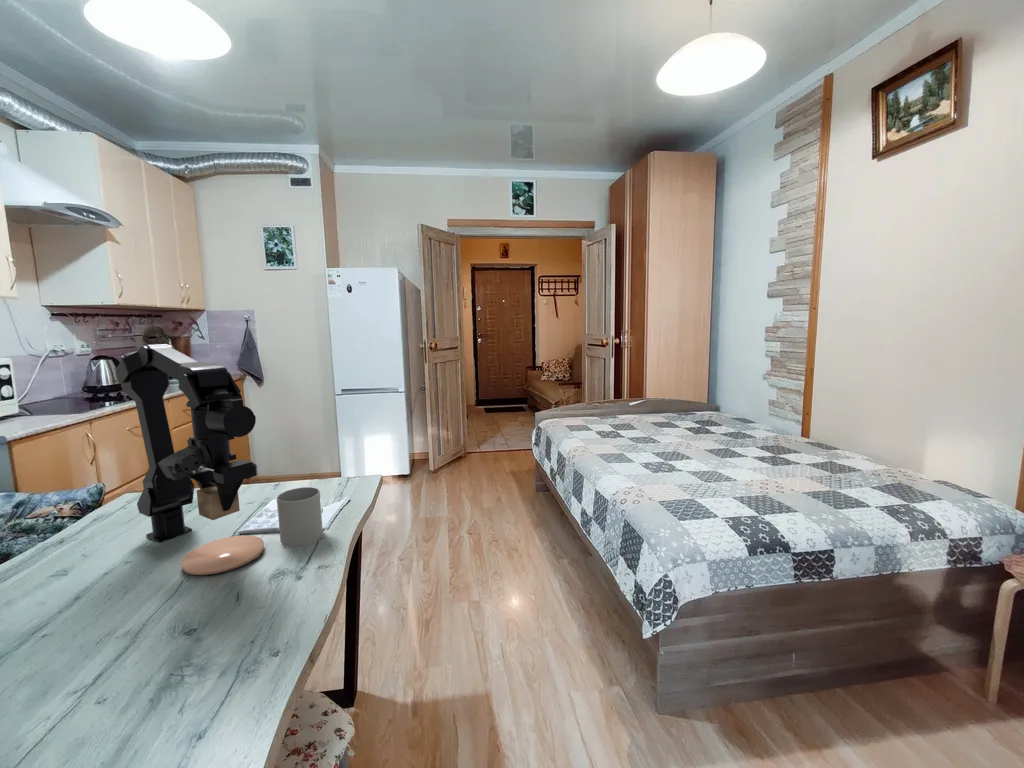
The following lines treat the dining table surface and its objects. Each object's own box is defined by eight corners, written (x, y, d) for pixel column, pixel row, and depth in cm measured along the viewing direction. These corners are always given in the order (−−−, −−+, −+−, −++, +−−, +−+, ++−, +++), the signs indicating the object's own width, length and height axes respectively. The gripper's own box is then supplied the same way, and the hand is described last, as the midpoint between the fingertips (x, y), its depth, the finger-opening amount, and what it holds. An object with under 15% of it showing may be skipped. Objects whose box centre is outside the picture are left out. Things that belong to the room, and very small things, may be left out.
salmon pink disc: (167, 566, 87) (166, 559, 87) (239, 536, 99) (239, 530, 99) (206, 585, 80) (205, 578, 80) (279, 551, 92) (278, 544, 92)
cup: (306, 548, 93) (302, 503, 92) (271, 545, 95) (267, 500, 94) (330, 530, 101) (327, 488, 100) (298, 527, 103) (295, 486, 102)
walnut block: (199, 515, 87) (196, 490, 87) (225, 505, 92) (223, 482, 91) (213, 520, 85) (210, 495, 84) (239, 510, 89) (237, 486, 89)
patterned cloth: (275, 504, 119) (274, 496, 118) (352, 501, 120) (352, 493, 119) (235, 538, 100) (234, 528, 99) (327, 534, 101) (327, 525, 101)
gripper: (138, 434, 84) (147, 513, 86) (190, 447, 75) (199, 535, 77) (202, 422, 93) (210, 494, 95) (255, 432, 84) (262, 511, 86)
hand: (219, 507), depth 88 cm, fingers closed on walnut block, 5 cm apart
